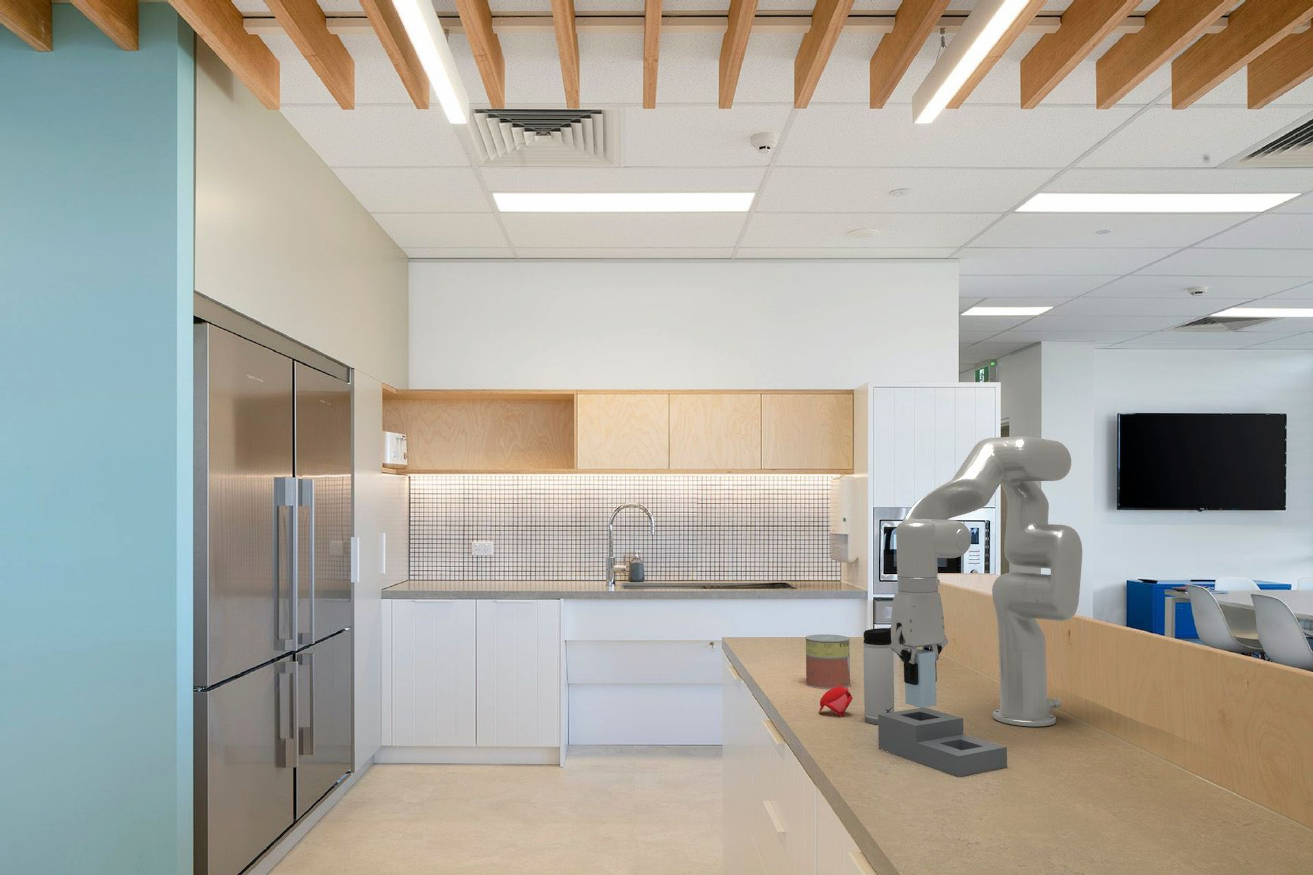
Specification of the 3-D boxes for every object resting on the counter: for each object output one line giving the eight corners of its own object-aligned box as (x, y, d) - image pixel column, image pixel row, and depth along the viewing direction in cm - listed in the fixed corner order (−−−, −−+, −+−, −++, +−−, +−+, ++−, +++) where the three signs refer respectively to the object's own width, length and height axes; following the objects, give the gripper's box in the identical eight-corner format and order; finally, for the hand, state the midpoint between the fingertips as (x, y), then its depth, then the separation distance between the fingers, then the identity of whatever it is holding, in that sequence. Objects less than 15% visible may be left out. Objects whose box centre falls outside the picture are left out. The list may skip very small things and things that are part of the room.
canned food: (854, 689, 227) (853, 641, 228) (809, 689, 227) (809, 641, 228) (845, 680, 238) (845, 634, 239) (802, 680, 238) (802, 634, 239)
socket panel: (924, 740, 179) (924, 707, 179) (1007, 766, 161) (1006, 729, 161) (878, 748, 173) (878, 714, 173) (958, 776, 155) (957, 738, 156)
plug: (918, 700, 175) (917, 648, 176) (936, 705, 171) (935, 651, 172) (903, 702, 174) (902, 650, 174) (921, 707, 169) (919, 653, 170)
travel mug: (897, 725, 190) (895, 629, 192) (865, 724, 192) (863, 629, 193) (895, 718, 196) (893, 625, 198) (864, 717, 198) (862, 625, 199)
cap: (854, 696, 204) (831, 681, 206) (857, 692, 199) (833, 677, 200) (836, 726, 202) (813, 711, 204) (838, 724, 196) (815, 707, 198)
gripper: (935, 581, 181) (937, 674, 180) (871, 586, 173) (873, 683, 172) (964, 585, 174) (967, 681, 173) (898, 590, 166) (901, 691, 165)
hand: (920, 681), depth 172 cm, fingers closed on plug, 4 cm apart
